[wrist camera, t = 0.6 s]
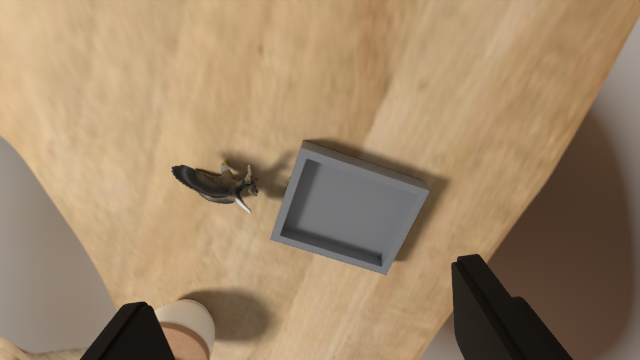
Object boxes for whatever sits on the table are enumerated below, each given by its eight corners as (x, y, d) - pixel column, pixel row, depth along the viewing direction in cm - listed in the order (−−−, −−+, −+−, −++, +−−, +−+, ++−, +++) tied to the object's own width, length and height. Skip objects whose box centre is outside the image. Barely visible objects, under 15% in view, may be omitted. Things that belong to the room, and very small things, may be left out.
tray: (302, 140, 41) (300, 147, 38) (423, 181, 43) (430, 191, 40) (273, 227, 46) (269, 239, 43) (382, 261, 48) (386, 275, 45)
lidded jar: (201, 349, 56) (177, 407, 47) (143, 316, 53) (106, 371, 45) (237, 311, 52) (219, 366, 44) (177, 274, 50) (144, 324, 41)
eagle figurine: (249, 137, 40) (170, 148, 39) (253, 187, 36) (166, 200, 35) (258, 175, 46) (191, 184, 46) (263, 220, 42) (189, 232, 42)
